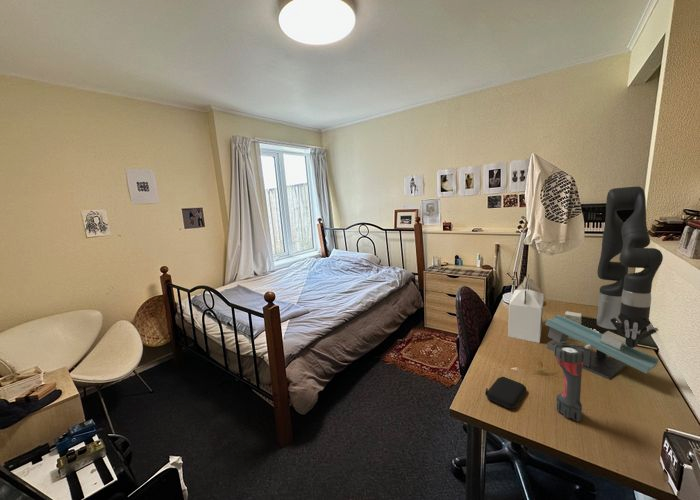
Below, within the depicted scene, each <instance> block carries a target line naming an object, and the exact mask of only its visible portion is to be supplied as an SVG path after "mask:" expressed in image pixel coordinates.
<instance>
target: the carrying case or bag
mask: <svg viewBox="0 0 700 500" xmlns="http://www.w3.org/2000/svg"><path fill="white" fill-rule="evenodd" d="M526 392H527V387H526V386H525V384H523V383H521V382H519V381H516V380H513V379H511V378H508V377H505V376H500V377H497V379H495V381H494V383H493V384H492V385H491V386H490V388H489V389H488V387H486V389H485V392H484V393H485V396H486V398H487V399H488V400H489V401H491V402H492V401H493V403H495V404H497V405H499V406H501V407H503V406H504V408H506V409H508V410H513V409H516V408H517V406H518V405H519V403H520V401H522V398H523V396H524V395H525V393H526Z"/></svg>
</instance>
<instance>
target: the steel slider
mask: <svg viewBox="0 0 700 500" xmlns="http://www.w3.org/2000/svg"><path fill="white" fill-rule="evenodd" d="M601 334H602V337H601V340H600V342H601V343H603V344H605V345H607V346H609V347H611V348H614V349H616V350H618V351H620V352H621V351H623V350H624V347H625V345H626V343H625V342H626V337H623V336H621V335H619V334H616V333H614V332H613V331H610V330H607V331H605V332H604V333H601Z"/></svg>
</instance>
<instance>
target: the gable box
mask: <svg viewBox="0 0 700 500" xmlns="http://www.w3.org/2000/svg"><path fill="white" fill-rule="evenodd" d="M544 295H545V294H544V293H543V291H542V290H541V289H540V287H539V286H538V284H537V283H536V281H534V280H533V279H530V274H527V277H526V276H525V275H524V278H523V280H522V282H521V283H520V284H519V286H517V288H516V289H515V290H514V291H513V293H512V296H511V298H510V301H509V304H508V323H507V324H508V327H507V331H508V332H507V337H508V338H512V339H517V340H521V341H526V342H533V343H537V344H540V343H541V337H542V330H543V329H542V327H543V315H544V314H543V313H544Z"/></svg>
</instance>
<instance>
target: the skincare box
mask: <svg viewBox="0 0 700 500" xmlns="http://www.w3.org/2000/svg"><path fill="white" fill-rule="evenodd" d="M582 316H583V315H582V313H581V312H580V313H579V312H574V311H565V312H564V316H563V317H565V318H567V319H569V320H571V321H574V322H576V323H578V324H580V325H582ZM567 339H569V340H573V341H577V340H576V339H574V338H572V337H570V336H568V337H567Z"/></svg>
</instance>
